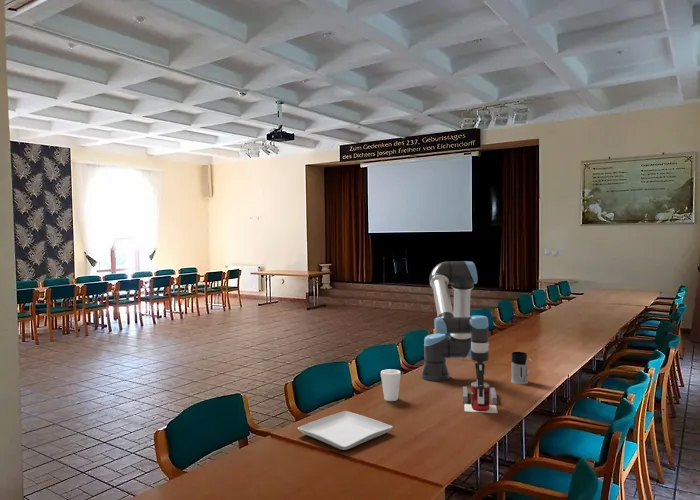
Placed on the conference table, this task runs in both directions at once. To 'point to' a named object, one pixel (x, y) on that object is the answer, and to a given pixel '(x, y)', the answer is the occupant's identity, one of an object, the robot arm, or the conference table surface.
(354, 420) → the square plate
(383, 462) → the conference table surface
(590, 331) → the conference table surface
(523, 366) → the white and black mug
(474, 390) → the canned food
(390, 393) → the foam cup
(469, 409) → the chute
